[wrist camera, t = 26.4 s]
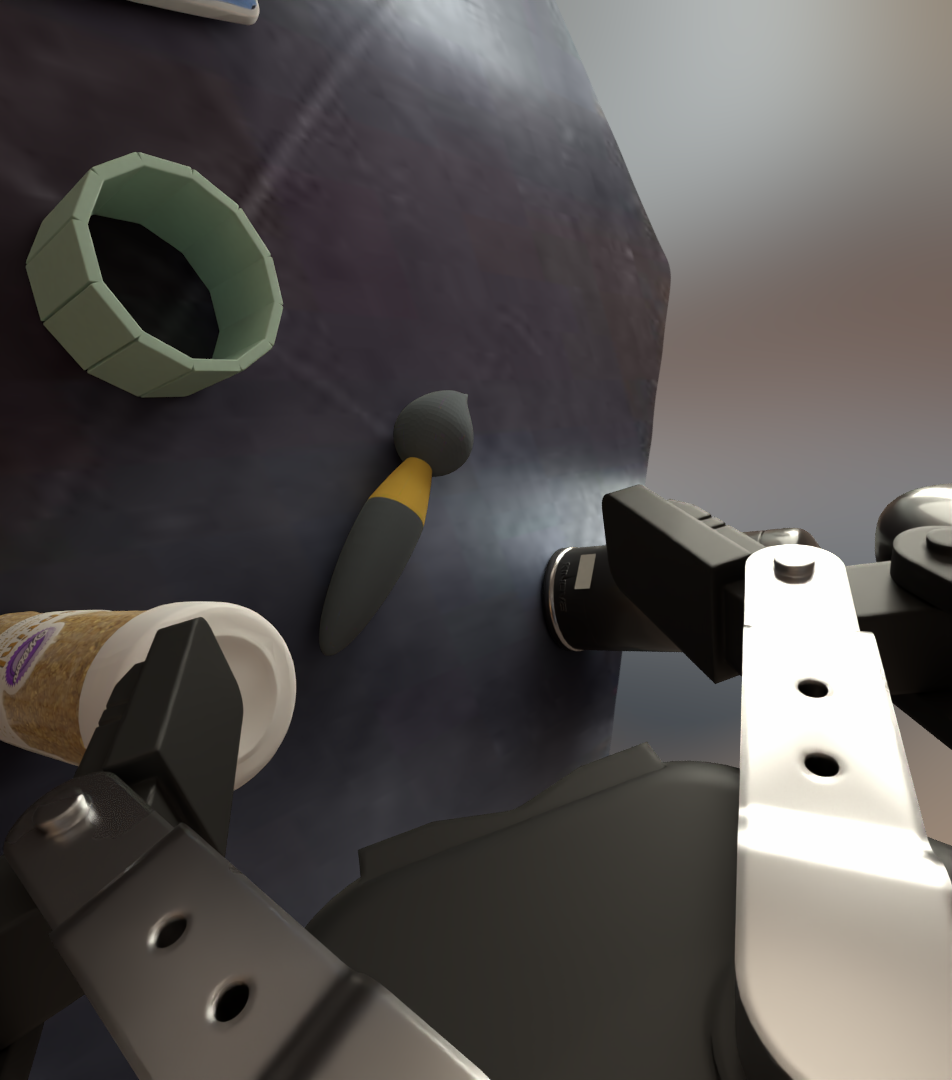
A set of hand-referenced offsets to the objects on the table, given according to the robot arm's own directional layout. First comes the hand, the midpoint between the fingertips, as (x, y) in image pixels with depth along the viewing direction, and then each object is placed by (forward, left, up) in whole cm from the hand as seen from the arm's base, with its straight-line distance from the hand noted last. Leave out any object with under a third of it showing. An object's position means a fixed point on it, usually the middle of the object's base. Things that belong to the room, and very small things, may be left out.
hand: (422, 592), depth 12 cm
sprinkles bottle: (+1, +2, -19) cm, 19 cm away
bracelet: (+1, -14, -19) cm, 23 cm away
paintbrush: (-15, -10, -19) cm, 26 cm away
